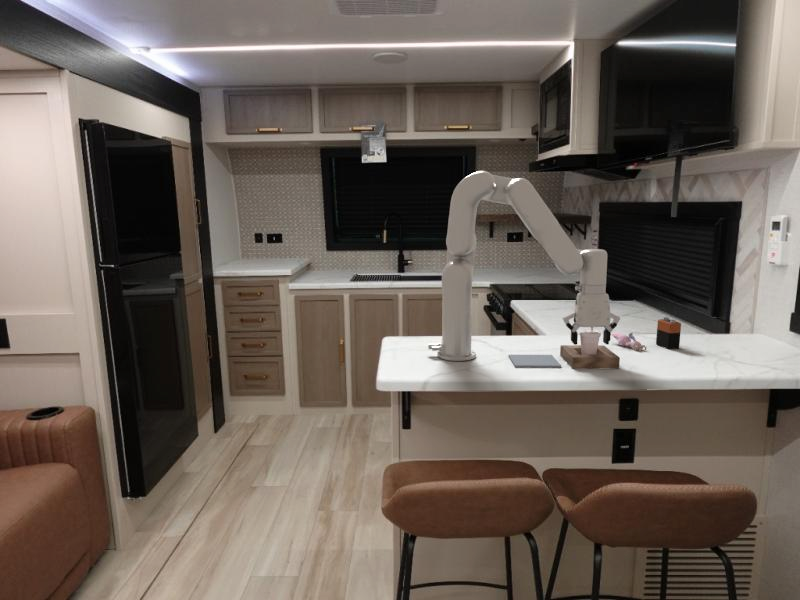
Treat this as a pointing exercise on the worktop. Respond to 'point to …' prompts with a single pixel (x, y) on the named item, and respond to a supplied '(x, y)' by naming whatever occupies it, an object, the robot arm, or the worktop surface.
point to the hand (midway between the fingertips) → (590, 343)
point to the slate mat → (534, 361)
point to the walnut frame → (589, 357)
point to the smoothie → (589, 341)
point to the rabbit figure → (628, 341)
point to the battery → (668, 333)
